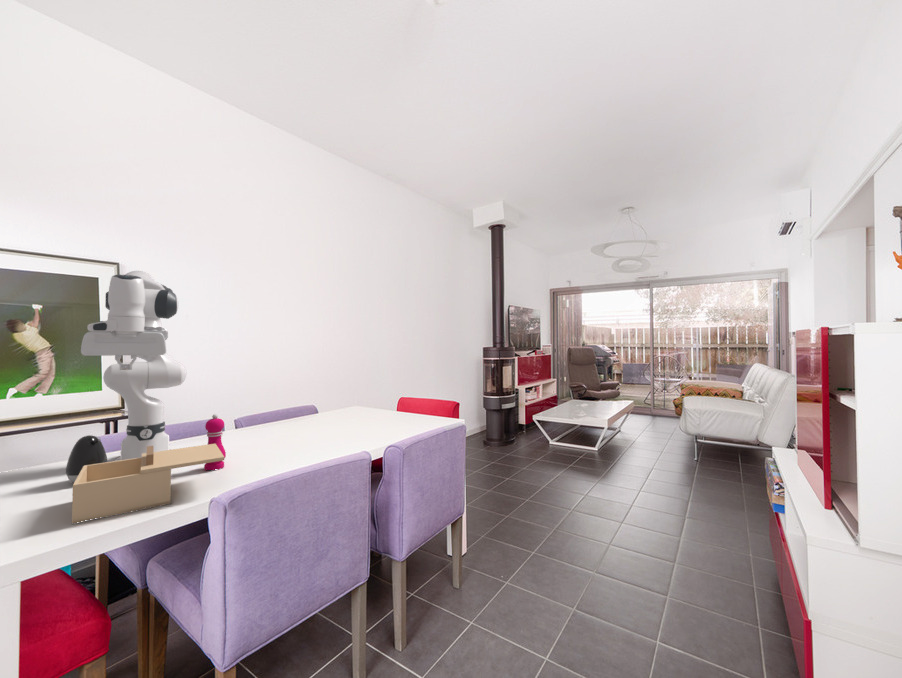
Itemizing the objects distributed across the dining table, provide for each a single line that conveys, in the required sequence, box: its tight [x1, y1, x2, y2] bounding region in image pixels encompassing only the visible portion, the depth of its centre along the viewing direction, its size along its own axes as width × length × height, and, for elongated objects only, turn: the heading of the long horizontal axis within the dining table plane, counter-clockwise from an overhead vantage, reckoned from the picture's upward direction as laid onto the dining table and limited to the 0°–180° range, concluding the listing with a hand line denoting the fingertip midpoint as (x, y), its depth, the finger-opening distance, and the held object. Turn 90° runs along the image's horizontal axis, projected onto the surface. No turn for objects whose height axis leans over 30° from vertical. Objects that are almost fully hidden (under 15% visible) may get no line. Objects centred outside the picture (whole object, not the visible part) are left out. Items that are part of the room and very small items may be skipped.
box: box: [71, 457, 172, 524], centre depth 109 cm, size 20×20×10 cm
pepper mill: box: [203, 413, 227, 471], centre depth 139 cm, size 7×7×20 cm
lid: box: [140, 444, 225, 474], centre depth 117 cm, size 20×20×4 cm
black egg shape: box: [65, 434, 109, 484], centre depth 125 cm, size 10×10×15 cm
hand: (125, 369), depth 117 cm, fingers closed
